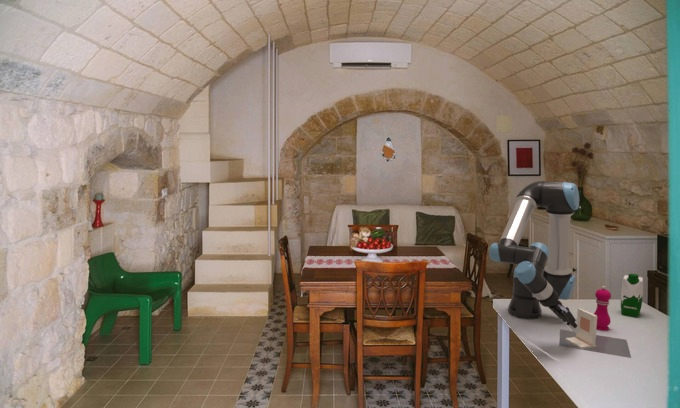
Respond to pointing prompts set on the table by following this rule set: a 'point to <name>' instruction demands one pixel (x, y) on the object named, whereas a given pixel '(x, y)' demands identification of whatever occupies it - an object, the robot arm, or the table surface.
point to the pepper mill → (602, 309)
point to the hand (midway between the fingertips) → (577, 330)
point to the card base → (579, 343)
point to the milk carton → (631, 295)
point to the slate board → (599, 344)
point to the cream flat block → (587, 326)
